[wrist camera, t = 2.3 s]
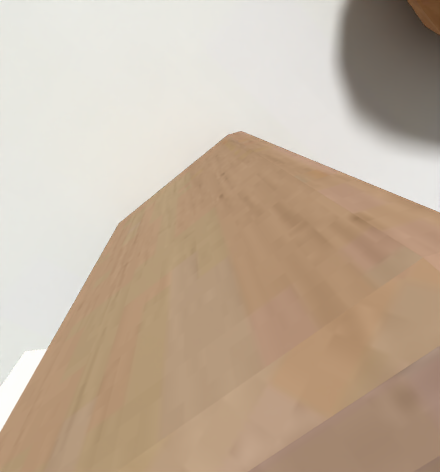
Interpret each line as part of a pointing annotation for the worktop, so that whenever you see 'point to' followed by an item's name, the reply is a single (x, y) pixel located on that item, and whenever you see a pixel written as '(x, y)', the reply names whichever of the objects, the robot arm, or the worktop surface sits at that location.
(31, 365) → the robot arm
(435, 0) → the potato
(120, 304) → the wooden block
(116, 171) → the worktop surface
